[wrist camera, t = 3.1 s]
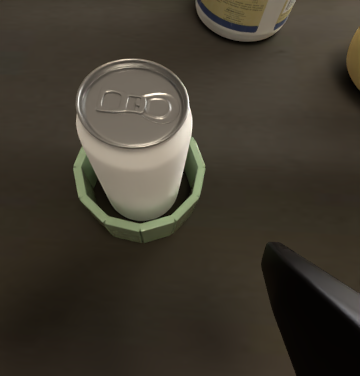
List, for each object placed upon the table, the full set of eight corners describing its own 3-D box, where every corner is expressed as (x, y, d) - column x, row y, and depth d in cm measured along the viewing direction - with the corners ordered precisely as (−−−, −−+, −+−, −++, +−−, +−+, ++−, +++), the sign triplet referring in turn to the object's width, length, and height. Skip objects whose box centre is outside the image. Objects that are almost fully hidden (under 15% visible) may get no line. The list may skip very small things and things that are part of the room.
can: (174, 226, 23) (193, 164, 12) (101, 218, 23) (49, 146, 11) (180, 162, 25) (200, 60, 14) (114, 154, 25) (82, 44, 14)
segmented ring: (100, 256, 21) (87, 247, 17) (80, 155, 25) (65, 127, 21) (210, 223, 23) (221, 208, 19) (177, 134, 27) (181, 105, 22)
